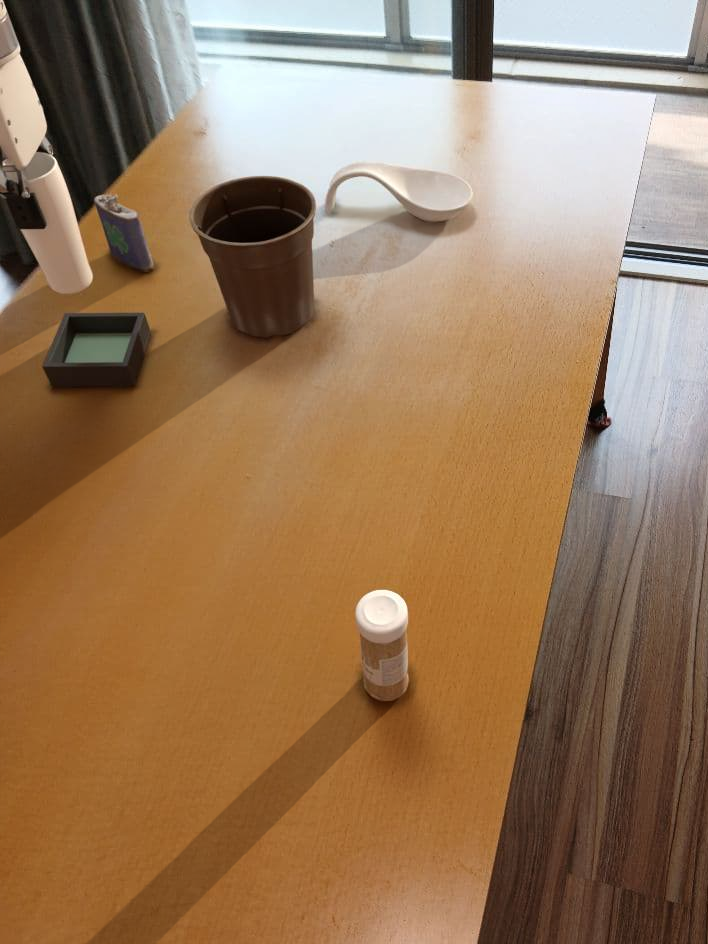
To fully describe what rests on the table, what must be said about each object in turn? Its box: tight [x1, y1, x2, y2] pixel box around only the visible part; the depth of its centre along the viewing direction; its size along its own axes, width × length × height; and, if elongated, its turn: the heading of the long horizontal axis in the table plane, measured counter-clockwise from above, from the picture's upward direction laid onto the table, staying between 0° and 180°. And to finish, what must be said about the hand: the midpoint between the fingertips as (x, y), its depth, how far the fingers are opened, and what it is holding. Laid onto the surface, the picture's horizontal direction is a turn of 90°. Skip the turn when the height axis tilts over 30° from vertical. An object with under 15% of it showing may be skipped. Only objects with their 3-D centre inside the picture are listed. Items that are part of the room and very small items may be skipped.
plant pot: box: [188, 175, 317, 339], centre depth 110 cm, size 16×16×16 cm
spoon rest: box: [324, 161, 474, 223], centre depth 129 cm, size 24×12×7 cm, turn 85°
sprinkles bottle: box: [355, 589, 410, 702], centre depth 75 cm, size 5×5×13 cm
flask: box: [93, 193, 155, 273], centre depth 121 cm, size 9×3×11 cm, turn 50°
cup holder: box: [41, 312, 152, 388], centre depth 110 cm, size 11×11×4 cm
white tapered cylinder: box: [3, 152, 94, 295], centre depth 95 cm, size 7×7×15 cm
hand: (42, 208), depth 93 cm, fingers closed on white tapered cylinder, 6 cm apart
